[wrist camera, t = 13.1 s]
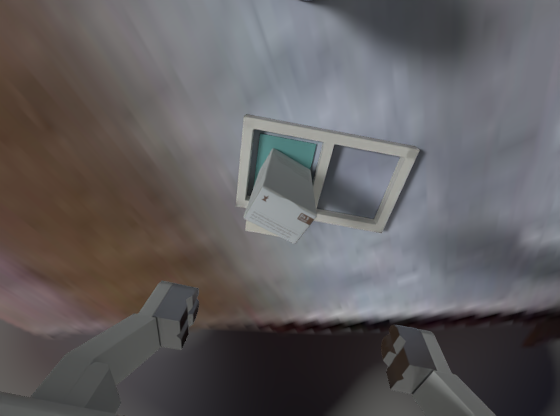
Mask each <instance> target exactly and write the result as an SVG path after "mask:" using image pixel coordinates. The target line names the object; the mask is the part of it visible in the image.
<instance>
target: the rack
mask: <svg viewBox="0 0 560 416" xmlns="http://www.w3.org/2000/svg"><path fill="white" fill-rule="evenodd" d="M255 129H258V130H263V131H268V132H273V133H279V134H284V135H289V136H294V137H300V138H305V139H310V140H315V141H321V142H323V144H322V148H321V152H320V156H319V160H318V164H317V168H316V172H315V176H314V180H313V191H314V198H315V205H316V211H317V217H316V218H315V219H314V221H319V222H324V223H329V224H335V225H340V226H345V227H351V228H356V229H361V230H367V231H372V232H378V233H382V232H383V229H384V227H385V225H386V223H387V221H388V218H389V216H390V214H391V212H392V210H393V208H394V205H395V203H396V201H397V199H398V197H399V194H400V192H401V190H402V188H403V186H404V183H405V181H406V179H407V177H408V175H409V173H410V170H411V168H412V166H413V164H414V162H415V159H416V157H417V155H418V153H419V151H420V150H419V149H418V148H417V147H415V146H411V145H406V144H400V143H395V142H390V141H385V140H379V139H374V138H369V137H364V136H358V135H353V134H348V133H343V132H338V131H332V130H327V129H322V128H317V127H311V126H306V125H301V124H296V123H290V122H285V121H280V120H275V119H269V118H264V117H259V116H254V115H248V114H246V115H245V116H244V121H243V132H242V144H241V155H240V166H239V177H238V188H237V199H236V206H238V207H243V208H247V206H248V202H249V200H250V197H251V196H247V191H248V183H249V174H250V165H251V156H252V147H253V139H254V130H255ZM334 144H336V145H342V146H347V147H352V148H358V149H363V150H368V151H373V152H379V153H384V154H389V155H394V156H400V159H399V161H398V164H397V166H396V168H395V171H394V173H393V176H392V178H391V180H390V183H389V185H388V187H387V190H386V192H385V194H384V197H383V199H382V201H381V204H380V206H379V209H378V211H377V213H376V216H375V218H374V219H370V218H365V217H360V216H354V215H349V214H343V213H338V212H333V211H327V210H322V209H317V205H318V201H319V198H320V194H321V191H322V187H323V183H324V180H325V176H326V173H327V169H328V166H329V162H330V158H331V155H332V151H333V148H334ZM315 147H316V144H314V143H308V142H303V141H298V140H293V139H287V138H282V137H277V136H272V135H266V134H261V133H260V139H259V147H258V155H257V163H256V171H255V179H254V185H255V182H256V179H257V176H258V173H259V170H260V169H261V167H262V165H263V163H264V162H265V160H266V158H267V157H268V155H269V153H270V152H271V150H272V148H274V149H276V150H278V151H280V152H281V153H283V154H285V155H286V156H288V157H290V158H291V159H293V160H295V161H296V162H298V163H300V164H301V165H303V166H305V167H306V168H308V169H310V168H311V164H312V160H313V156H314V151H315ZM253 188H254V187H253ZM245 230H246V231H251V232H257V233H262V234H268V235H273V236H278V235H276V234H274V233H272V232H270V231H268V230H266V229H264V228H262V227H260V226H258V225H256V224H254V223H252V222H250V221H248V220H247V221H246V229H245ZM278 237H280V236H278Z"/></svg>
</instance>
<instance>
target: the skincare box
mask: <svg viewBox="0 0 560 416" xmlns="http://www.w3.org/2000/svg"><path fill="white" fill-rule="evenodd" d="M316 217H317V211H316V205H315V198H314V191H313V184H312V177H311V170H310V169H308V168H306V167H305V166H303V165H301V164H300V163H298V162H296V161H295V160H293V159H291V158H290V157H288V156H286V155H285V154H283V153H281V152H280V151H278V150H276V149H274V148H272V150H271V152H270V153H269V155H268V157H267V158H266V160H265V162H264V163H263V165H262V167H261V169H260V170H259V173H258V176H257V179H256V182H255V185H254V188H253V191H252V194H251V197H250V200H249V202H248V206H247V209H246V211H245V214H244V219H246V220H248V221H250V222H252V223H254V224H256V225H258V226H260V227H262V228H264V229H266V230H268V231H270V232H272V233H274V234H276V235H278V236H280V237H282V238H284V239H286V240H288V241H290V242H291V243H293V244H296V242H297V241H298V240H299V239H300V237H301V236H302V235H303V233H304V232H305V231H306V230H307V228H308V227H309V226H310V224H311V223H312V222H313V221H314V219H315V218H316Z"/></svg>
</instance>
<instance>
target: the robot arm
mask: <svg viewBox="0 0 560 416" xmlns="http://www.w3.org/2000/svg"><path fill="white" fill-rule="evenodd" d="M198 294H199V289H198V288H194V287H190V286H185V285H181V284H176V283H171V282H166V281H161V282H160V283H159V284H158V285H157V287H156V288H155V290H154V291H153V293H152V294H151V296H150V297H149V299H148V300H147V302H146V303H145V305H144V306H143V307H142V309H141V310H140V312H139V313H138V314H133V315H131V316H129V317H128V318H126V319H124V320H123V321H121V322H119V323H118V324H116V325H114V326H112V327H111V328H109V329H107V330H106V331H104V332H102V333H101V334H99V335H97V336H96V337H94V338H92V339H91V340H89V341H87V342H86V343H84V344H82V345H80V346H79V347H77V348H76V349H74V350H72V351H70V352H69V353H67V354H66V355H65V356H64V357H63V358H62V359H61V361H60V362H59V363H58V364H57V365H56V366H55V368H54V369H53V370H52V371H51V373H50V374H49V375H48V376H47V377H46V379H45V380H44V381H43V382H42V384H41V385H40V386H39V387H38V388H37V389H36V391H35V392H34V393H33V394H32V395H31V397H27V396H21V395H16V394H11V393H6V392H0V416H125V415H119V414H116V412H117V410H118V408H119V406H120V404H121V399H120V396H119V393H118V391H117V388H116V385H117V384H119V383H120V382H121V381H122V380H123V379H125V378H126V377H127V376H128V375H129V374H130V373H132V372H133V371H134V370H135V369H136V368H137V367H139V366H140V365H141V364H142V363H143V362H144V361H146V360H147V359H148V358H149V357H150V356H151V355H152V354H154V353H155V352H156V351H157V350H158V349H160V347H166V348H172V349H179V350H182V348H183V346H184V344H185V341H186V339H187V337H188V335H189V327H190V326H191V325H193V323H194V321H195V319H196V316H197V312H198V307H199V301H198V299H197V297H198ZM389 332H390V334H389V335H387V336H385V337H384V339H383V341H382V346H381V350H382V351H381V352H382V357H383V361H384V362H385V363H386V364H387V366H388V368H387V371H386V374H387V378H388V382H389V386H390V389H391V390H394V391H398V392H402V393H407V394H412V397H413V398H414V400H415V401H416V403H417V404H418V405H419V407H420V408H421V410H422V411H423V413H424V414H425V416H496V415H495V414H494V413H493V412H492V411H491V410H490V409H489V408H488V407H487V406H486V405H485V404H484V403H483V402H482V401H481V400H480V399H479V398H478V397H477V396H476V395H475V394H474V393H473V392H472V391H471V390H470V389H469V388H468V387H467V386H466V385H465V384H464V383H463V382H462V381H461V380H460V379H459V378H458V377H457V376H456V375H455V374H452V373H451V371H450V369H449V367H448V365H447V362H446V360H445V358H444V356H443V354H442V351H441V349H440V347H439V345H438V343H437V341H436V338H435V336H434V334H433V333H432V332H430V331H425V330H419V329H416V328H410V327H404V326H398V325H392V326H391V327H390V329H389Z"/></svg>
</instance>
